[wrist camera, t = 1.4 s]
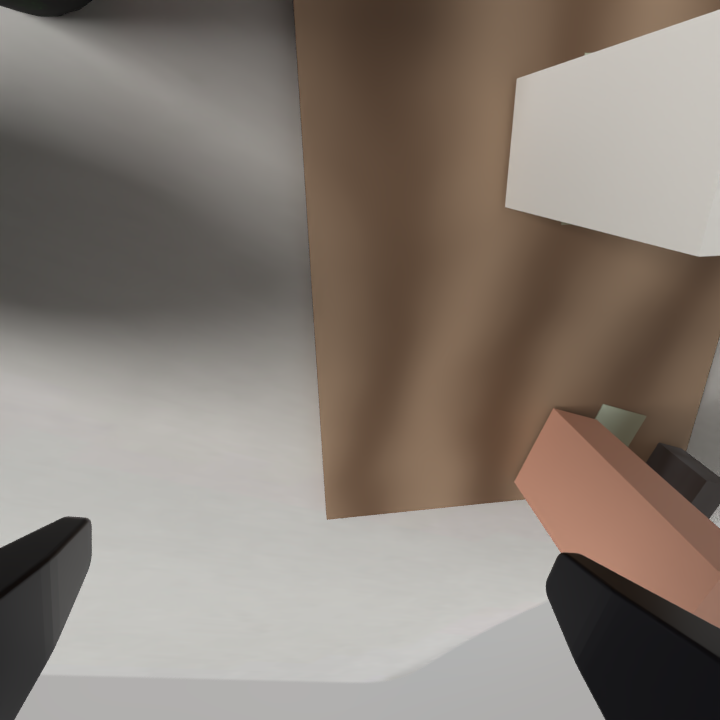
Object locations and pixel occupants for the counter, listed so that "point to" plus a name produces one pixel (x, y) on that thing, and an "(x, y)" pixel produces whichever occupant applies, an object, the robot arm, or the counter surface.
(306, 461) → the counter surface
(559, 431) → the salmon pink rectangular block
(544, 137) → the white rectangular block
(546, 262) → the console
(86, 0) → the cup
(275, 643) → the counter surface
